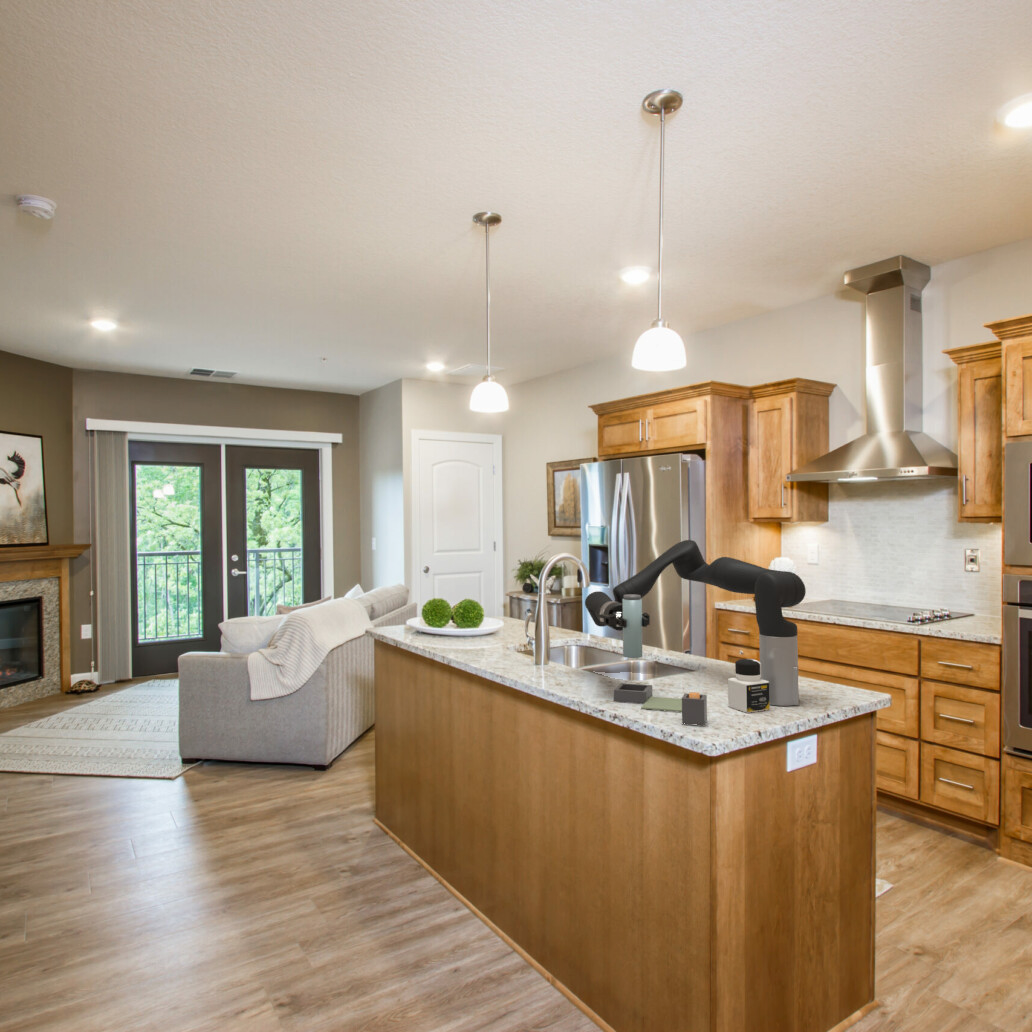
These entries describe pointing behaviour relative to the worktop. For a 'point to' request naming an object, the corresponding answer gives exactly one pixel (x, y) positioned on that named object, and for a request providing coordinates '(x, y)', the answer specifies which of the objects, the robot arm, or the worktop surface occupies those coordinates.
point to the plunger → (694, 695)
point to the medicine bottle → (748, 687)
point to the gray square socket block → (694, 710)
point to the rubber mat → (663, 704)
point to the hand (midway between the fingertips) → (635, 623)
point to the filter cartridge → (632, 626)
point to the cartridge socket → (632, 693)
